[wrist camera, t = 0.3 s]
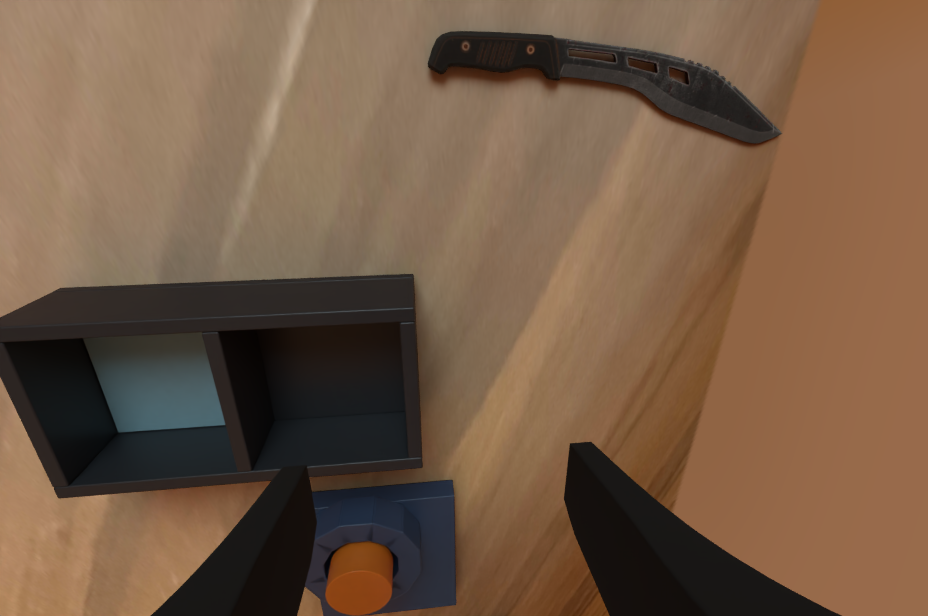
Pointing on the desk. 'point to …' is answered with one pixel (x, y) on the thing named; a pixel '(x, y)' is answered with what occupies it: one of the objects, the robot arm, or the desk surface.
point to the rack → (216, 381)
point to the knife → (612, 76)
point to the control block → (391, 540)
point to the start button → (360, 578)
